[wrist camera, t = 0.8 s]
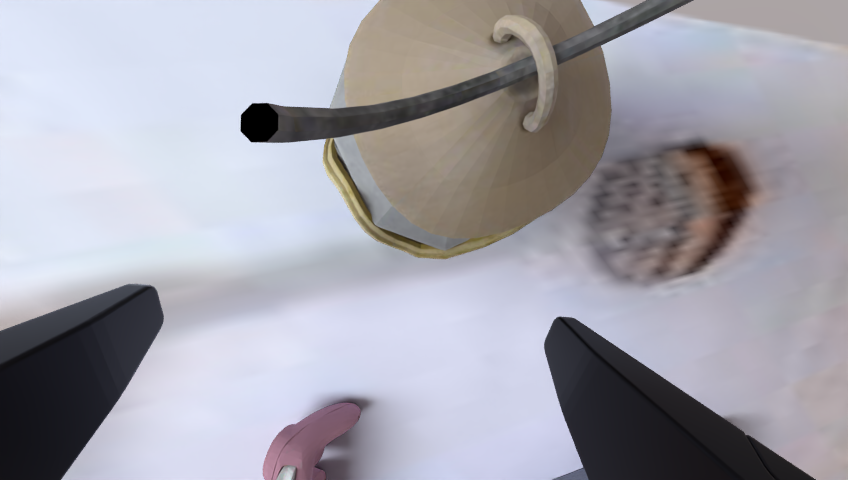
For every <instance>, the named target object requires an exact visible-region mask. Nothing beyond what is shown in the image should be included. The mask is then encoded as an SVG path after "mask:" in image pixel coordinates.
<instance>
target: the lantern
mask: <svg viewBox="0 0 848 480" xmlns="http://www.w3.org/2000/svg"><path fill="white" fill-rule="evenodd" d="M691 1H693V0H646V1H645V2H642V3H640V4H639V5H637V6H635V7H633V8H631V9H629V10H627V11H625V12H623V13H621V14H619V15H617V16H615V17H613V18H611V19H609V20H607V21H604V22H602V23H600V24H598V25H596V26H594V25H593V23H592V21H591V19H590V18H589V16H588V14H587V12H586V10H585V8H584V6H583V4H582V2H581V0H380V1H379V2H378V3H377V4H376V5H375V6H374V8H373V9H372V10H371V11H370V12H369V13H368V14H367V16H366V17H365V18H364V19H363V20H362V21H361V23H360V25H359V27H358V29H357V31H356V33H355V35H354V37H353V39H352V41H351V43H350V46H349V50H348V55H347V59H346V62H345V65H344V68H343V71H342V74H341V77H340V79H339V82H338V85H337V88H336V91H335V94H334V97H333V100H332V103H331V105H330V108H308V107H284V106H279V105H274V104H269V103H252V104H251V105H250V106H249V107H248V108H247V109H246V110H245V111H244V112H243V113H242V115H241V132H242V133H243V134H244V135H245V136H246V137H247V138H248V139H249V140H250V141H251V142H267V143H284V142H298V141H308V140H318V139H326V142H325V145H324V153H323V165H324V167H325V170H326V173H327V176H328V177H329V178H330V180H331V181H332V182H333V184H334V185H335V186H336V188H337V189H338V190H339V192H340V194H341V196H342V197H343V199H344V201H345V203H346V205H347V206H348V208H349V210H350V212H351V213H352V215H353V217H354V219H355V220H356V221H357V223H358V224H359V225H360V226H361V228H362V229H363V230H364V232H365V233H367V234H368V235H369V236H371V237H372V238H373V239H375V240H376V241H378V242H381V243H383V244H386V245H388V246H391V247H393V248H396V249H399V250H401V251H404V252H406V253H409V254H411V255H413V256H415V257H418V258H433V259H448V258H451V257H454V256H458V255H461V254H464V253H467V252H471V251H474V250H477V249H480V248H483V247H486V246H488V245H490V244H492V243H494V242H496V241H499V240H501V239H503V238H505V237H507V236H510V235H512V234H514V233H515V232H517V231H518V230H520V229H521V228H523V227H524V226H526V225H527V224H529V223H530V222H532V221H533V220H535V219H537V218H538V217H540V216H542V215H543V214H545V213H547V212H549V211H551V210H553V209H554V208H555V207H557V206H558V205H559V204H561V203H562V202H563V201H565V200H566V199H568V198H569V197H570V196H572V195H573V194H574V193H575V192H576V191H577V190H578V189H579V188H580V187H581V185H582V184H583V183H584V182H585V181H586V180H587V179H588V178H589V177H590V175H591V174H592V172H593V170H594V169H595V167H596V165H597V164H598V162H599V160H600V159H601V157H602V154H603V151H604V148H605V145H606V142H607V139H608V136H609V128H610V119H611V97H610V82H609V78H608V73H607V68H606V63H605V59H604V54H603V51H602V48H601V45H603V44H605V43H607V42H609V41H611V40H613V39H615V38H618V37H620V36H622V35H624V34H626V33H628V32H630V31H632V30H634V29H636V28H638V27H641V26H643V25H645V24H647V23H649V22H651V21H653V20H655V19H657V18H659V17H661V16H663V15H665V14H667V13H669V12H671V11H673V10H675V9H677V8H679V7H681V6H683V5H685V4H687V3H689V2H691Z"/></svg>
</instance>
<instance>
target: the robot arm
mask: <svg viewBox="0 0 848 480" xmlns="http://www.w3.org/2000/svg"><path fill="white" fill-rule="evenodd" d="M163 320H164V316H163V311H162V308H161V304H160V300H159V297H158V293H157V290H156V289H155V287H153V286H151V285H142V284H128V285H124V286H122V287H119V288H116V289H114V290H111V291H108V292H105V293H103V294H100V295H97V296H94V297H92V298H89V299H86V300H83V301H81V302H78V303H75V304H73V305H70V306H67V307H64V308H62V309H59V310H56V311H53V312H51V313H48V314H45V315H43V316H40V317H37V318H34V319H32V320H29V321H26V322H23V323H21V324H18V325H15V326H12V327H10V328H7V329H4V330H2V331H0V480H61V479H62V478H63V476H64V475H65V473H66V472H67V471H68V469H69V468H70V466H71V465H72V464H73V462H74V461H75V460H76V458H77V457H78V455H79V454H80V453H81V451H82V450H83V448H84V447H85V446H86V444H87V443H88V442H89V440H90V439H91V437H92V436H93V435H94V433H95V432H96V430H97V429H98V428H99V426H100V425H101V424H102V422H103V421H104V419H105V418H106V417H107V415H108V414H109V412H110V411H111V410H112V408H113V407H114V405H115V404H116V402H117V401H118V399H119V398H120V397H121V395H122V393H123V392H124V390H125V389H126V387H127V385H128V384H129V382H130V380H131V379H132V377H133V375H134V373H135V372H136V370H137V368H138V367H139V365H140V363H141V361H142V360H143V358H144V356H145V355H146V353H147V351H148V349H149V348H150V346H151V344H152V343H153V341H154V339H155V337H156V336H157V334H158V332H159V331H160V329H161V327H162V324H163ZM544 349H545V354H546V357H547V361H548V364H549V368H550V371H551V375H552V379H553V382H554V386H555V389H556V393H557V396H558V400H559V403H560V406H561V409H562V412H563V415H564V418H565V421H566V423H567V426H568V428H569V431H570V434H571V436H572V439H573V441H574V444H575V446H576V449H577V452H578V454H579V457H580V459H581V462H582V464H583V467H584V470H585V472H586V475H587V477H588V480H816V479H814V478H813V477H811V476H810V475H808V474H806V473H805V472H803V471H802V470H800V469H799V468H797V467H796V466H794V465H793V464H791V463H790V462H788V461H787V460H785V459H784V458H782V457H781V456H779V455H778V454H776V453H775V452H773V451H772V450H770V449H769V448H767V447H766V446H764V445H763V444H761V443H760V442H758V441H757V440H755V439H754V438H752V437H751V436H749V435H745V433H744V432H743V431H742V430H740V429H739V428H737V427H736V426H734V425H733V424H731V423H730V422H728V421H727V420H725V419H724V418H722V417H721V416H719V415H718V414H716V413H715V412H713V411H712V410H710V409H709V408H707V407H706V406H704V405H703V404H701V403H700V402H698V401H697V400H695V399H694V398H692V397H691V396H689V395H688V394H686V393H685V392H683V391H682V390H680V389H679V388H678V387H676V386H675V385H673V384H672V383H670V382H669V381H667V380H666V379H664V378H663V377H661V376H660V375H658V374H657V373H655V372H654V371H652V370H651V369H649V368H648V367H646V366H645V365H643V364H642V363H640V362H639V361H637V360H636V359H634V358H633V357H631V356H630V355H628V354H627V353H625V352H624V351H622V350H621V349H619V348H618V347H616V346H615V345H613V344H612V343H610V342H609V341H607V340H606V339H605V338H603V337H602V336H600V335H599V334H597V333H596V332H594V331H593V330H591V329H590V328H588V327H587V326H585V325H584V324H582V323H581V322H579V321H578V320H576V319H574V318H571V317H557V318H556V319H555V320H554V321H553V324H552V326H551V328H550V330H549V333H548V335H547V337H546V339H545V343H544Z"/></svg>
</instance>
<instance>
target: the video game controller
mask: <svg viewBox="0 0 848 480" xmlns="http://www.w3.org/2000/svg"><path fill="white" fill-rule="evenodd" d="M360 415H361V411H360V408H359V407H358V406H357V405H356V404H354V403H339V404H334V405H331V406H328V407H325V408H323V409H321V410H319V411H317V412H315V413H313V414H311V415H309V416H308V417H306V418H305V419H303V420H302V421H300V422H298V423H297V424H291V425H288V426H287V427H285V428H284V429H283V430H282V431H281V432H280V433H279V434H278V435H277V436H276V437H275V439H274V440H273V442H272V444H271V446H270V448H269V450H268V452H267V455H266V458H265V460H264V465H263V476H264V479H265V480H325V479H326V474H325V472H324V471H323V470H320V469H318V468H315V465H316V464H317V463H318V462H319V460H320V458H321V457H322V454H323V451H324V448H325V446H326V445H327V444H328V443H330V442H331V441H332V440H334V439H335V438H337V437H339V436H340V435H342V434H343V433H345V432H346V431H348V430H349V429H351V428H352V427H353V426H354V425H355V424H356V422H357V421H358V420H359V418H360Z"/></svg>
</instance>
